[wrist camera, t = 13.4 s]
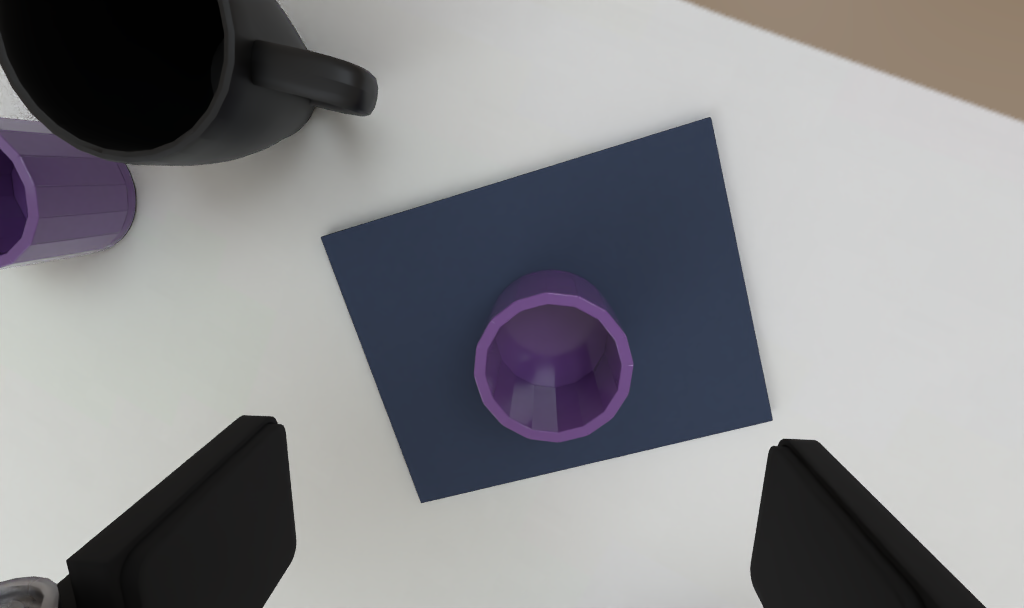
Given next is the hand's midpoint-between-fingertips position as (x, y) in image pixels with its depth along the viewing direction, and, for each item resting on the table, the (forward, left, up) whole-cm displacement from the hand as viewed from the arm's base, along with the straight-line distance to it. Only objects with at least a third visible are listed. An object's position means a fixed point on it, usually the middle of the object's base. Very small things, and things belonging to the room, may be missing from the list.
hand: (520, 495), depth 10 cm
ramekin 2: (0, +2, -18) cm, 18 cm away
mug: (+8, -13, -18) cm, 24 cm away
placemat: (0, +2, -18) cm, 18 cm away
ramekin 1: (+22, -12, -18) cm, 31 cm away
